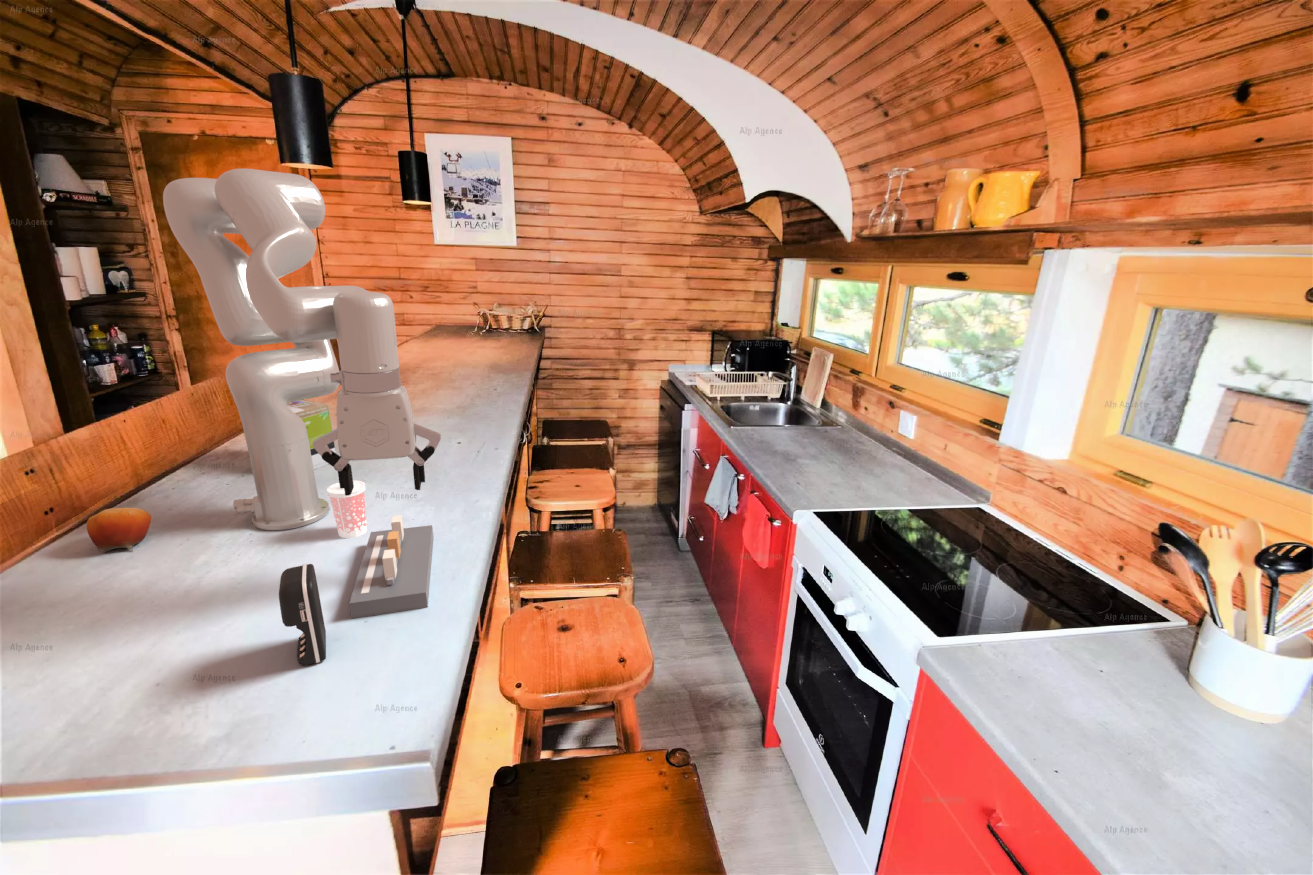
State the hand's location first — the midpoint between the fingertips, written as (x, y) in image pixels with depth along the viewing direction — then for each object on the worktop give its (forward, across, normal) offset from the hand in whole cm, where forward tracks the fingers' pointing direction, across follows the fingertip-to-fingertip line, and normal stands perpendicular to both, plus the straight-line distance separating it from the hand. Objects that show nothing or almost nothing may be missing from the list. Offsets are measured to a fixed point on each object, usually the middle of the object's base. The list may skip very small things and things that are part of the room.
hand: (384, 489), depth 88 cm
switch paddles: (+11, +1, -1) cm, 11 cm away
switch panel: (+14, +1, -1) cm, 15 cm away
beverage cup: (+15, -8, +16) cm, 24 cm away
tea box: (+17, -26, +57) cm, 65 cm away
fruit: (+16, -44, +21) cm, 52 cm away
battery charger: (+14, -8, -18) cm, 24 cm away
